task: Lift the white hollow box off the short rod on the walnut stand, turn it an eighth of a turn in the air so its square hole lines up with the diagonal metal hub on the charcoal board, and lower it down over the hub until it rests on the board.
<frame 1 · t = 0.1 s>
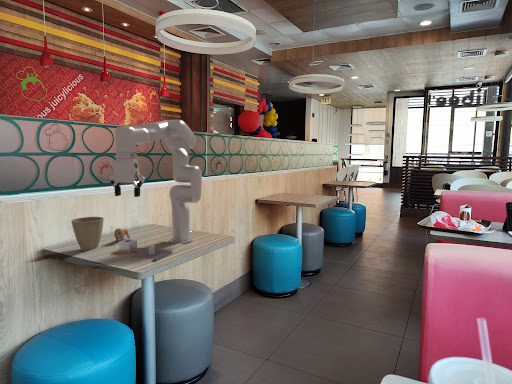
hand: (127, 196, 149), 31 cm above the table, tool pointing down, fingers open, 9 cm apart
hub: (151, 255, 168), on the table
plant pot: (89, 249, 179), on the table
stand: (128, 252, 173), on the table
lion figurine: (122, 242, 193), on the table
white hollow box: (128, 250, 173), point 1 cm above the table, touching stand
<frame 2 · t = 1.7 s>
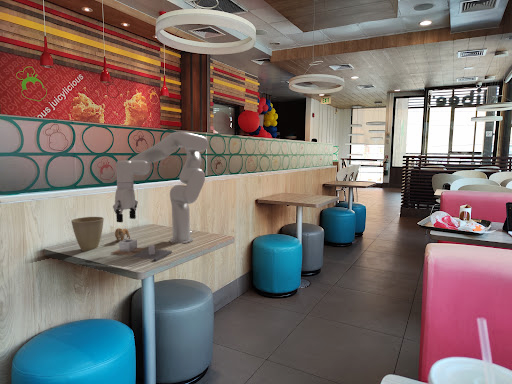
hand: (126, 220, 171), 16 cm above the table, tool pointing down, fingers open, 9 cm apart
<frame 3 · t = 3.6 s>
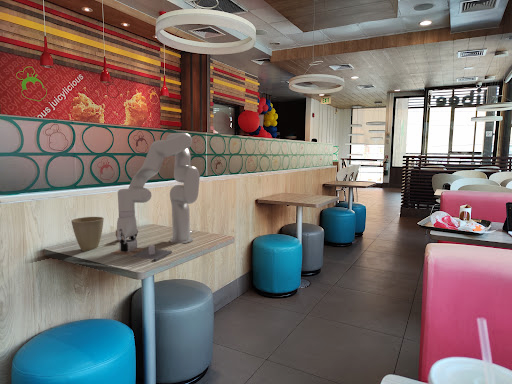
hand: (128, 249, 173), 2 cm above the table, tool pointing down, fingers closed on white hollow box, 6 cm apart
white hollow box: (128, 250, 173), point 1 cm above the table, touching gripper, stand
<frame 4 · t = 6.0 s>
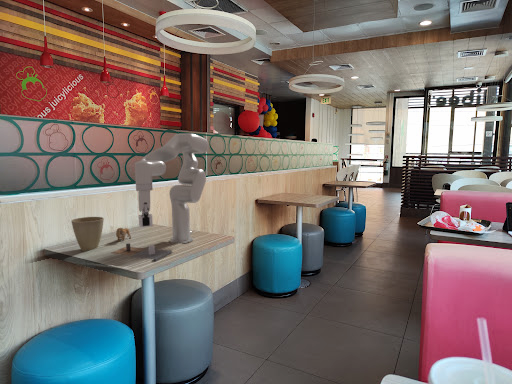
hand: (145, 224, 167), 15 cm above the table, tool pointing down, fingers closed on white hollow box, 6 cm apart
white hollow box: (145, 225, 167), point 15 cm above the table, touching gripper
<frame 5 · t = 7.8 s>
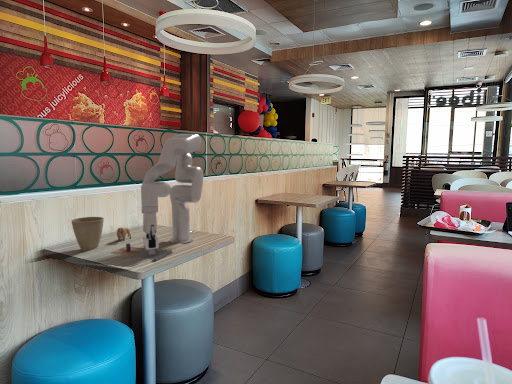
hand: (151, 245, 167), 5 cm above the table, tool pointing down, fingers closed on white hollow box, 6 cm apart
white hollow box: (151, 247, 167), point 4 cm above the table, touching gripper
when the fingers open (3 cm above the table, at t = 8.9 s): white hollow box drops 1 cm, resting on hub.
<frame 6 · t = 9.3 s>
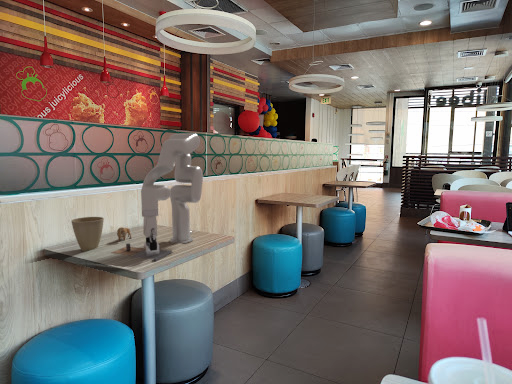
hand: (151, 247, 167), 4 cm above the table, tool pointing down, fingers open, 9 cm apart
white hollow box: (151, 253, 167), point 1 cm above the table, touching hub
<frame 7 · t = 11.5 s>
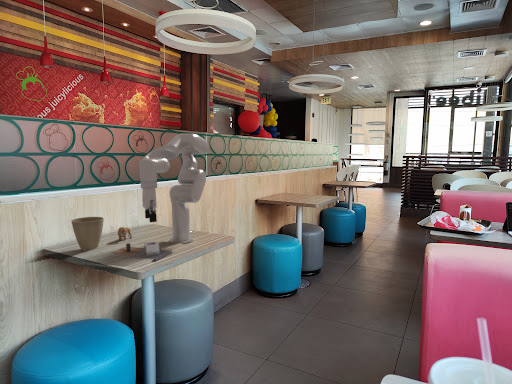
hand: (150, 219, 167), 17 cm above the table, tool pointing down, fingers open, 9 cm apart
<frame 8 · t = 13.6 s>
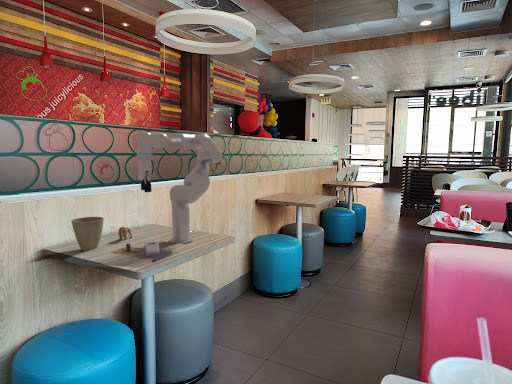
hand: (146, 191, 175), 30 cm above the table, tool pointing down, fingers open, 9 cm apart
at the end: white hollow box 0.1 cm off-centre on the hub, point 1.0 cm above the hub's base; white hollow box tilted 0°; the gripper is holding nothing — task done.
